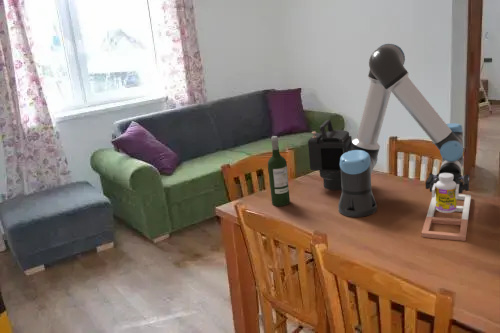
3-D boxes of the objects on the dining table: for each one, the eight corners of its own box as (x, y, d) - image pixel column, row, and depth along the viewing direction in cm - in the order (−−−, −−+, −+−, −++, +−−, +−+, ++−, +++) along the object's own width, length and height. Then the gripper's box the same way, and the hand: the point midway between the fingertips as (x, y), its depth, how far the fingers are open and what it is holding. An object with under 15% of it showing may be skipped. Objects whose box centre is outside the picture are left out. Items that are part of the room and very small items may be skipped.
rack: (433, 196, 201) (433, 192, 200) (470, 198, 195) (470, 194, 194) (421, 236, 169) (421, 232, 168) (465, 240, 162) (465, 236, 162)
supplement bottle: (435, 213, 167) (435, 178, 164) (436, 205, 173) (435, 171, 169) (456, 214, 165) (456, 178, 161) (456, 206, 171) (456, 171, 167)
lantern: (350, 191, 216) (346, 126, 207) (311, 190, 223) (306, 126, 214) (356, 180, 229) (353, 118, 220) (319, 179, 236) (315, 118, 227)
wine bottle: (281, 207, 208) (274, 140, 199) (268, 203, 213) (261, 138, 204) (293, 201, 212) (287, 135, 203) (281, 198, 218) (274, 133, 209)
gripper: (479, 182, 179) (476, 206, 159) (422, 180, 187) (414, 202, 168) (479, 162, 176) (477, 185, 157) (422, 161, 185) (413, 182, 166)
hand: (444, 194), depth 162 cm, fingers closed on supplement bottle, 7 cm apart
